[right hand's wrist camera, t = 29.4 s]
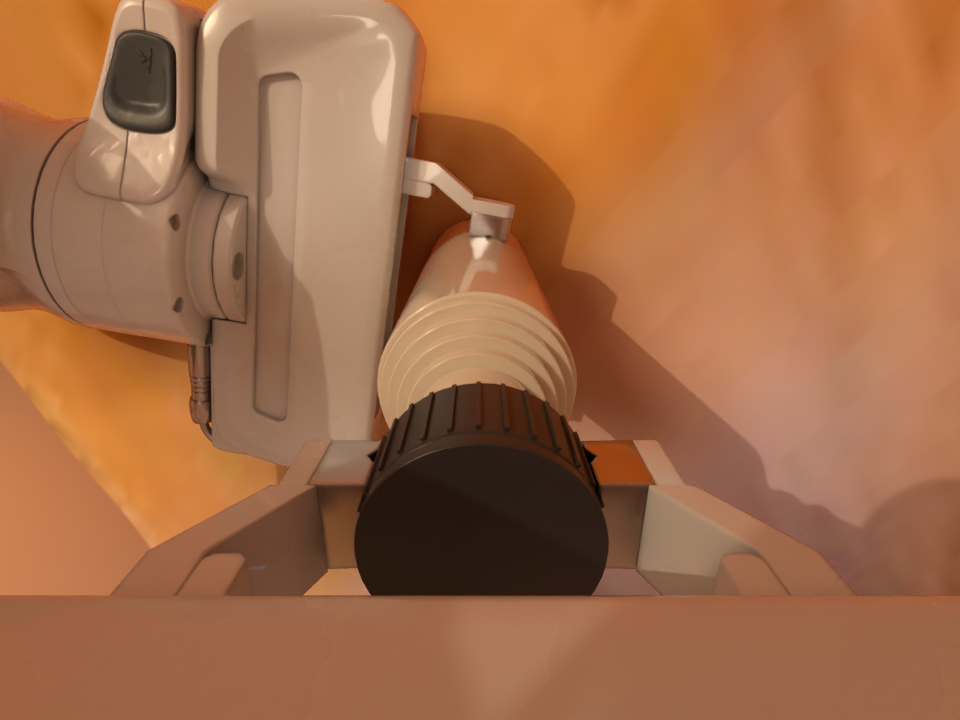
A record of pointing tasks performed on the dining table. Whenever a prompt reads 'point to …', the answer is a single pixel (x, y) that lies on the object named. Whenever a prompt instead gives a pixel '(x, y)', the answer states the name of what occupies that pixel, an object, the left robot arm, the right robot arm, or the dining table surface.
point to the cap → (481, 501)
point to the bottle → (476, 328)
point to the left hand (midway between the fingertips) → (496, 296)
